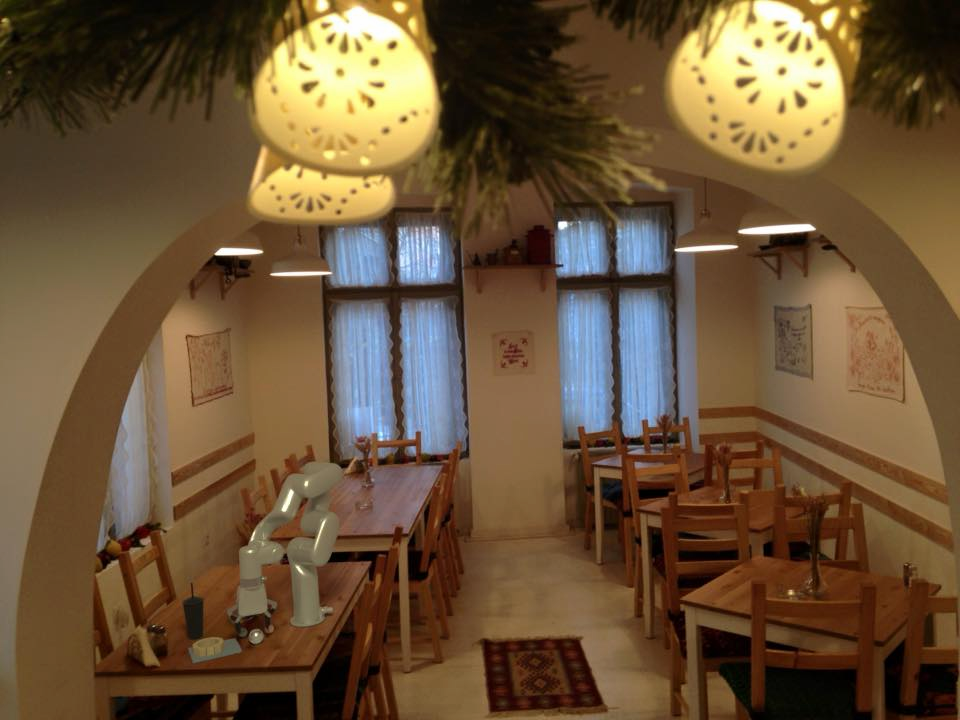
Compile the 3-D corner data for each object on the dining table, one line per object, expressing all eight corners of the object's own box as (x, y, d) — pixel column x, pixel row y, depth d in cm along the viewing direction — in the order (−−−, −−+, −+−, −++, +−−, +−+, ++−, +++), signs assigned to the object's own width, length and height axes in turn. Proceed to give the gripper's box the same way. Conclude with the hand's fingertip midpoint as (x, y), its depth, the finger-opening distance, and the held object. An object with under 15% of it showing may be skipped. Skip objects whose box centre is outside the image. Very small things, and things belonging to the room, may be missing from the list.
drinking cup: (188, 643, 295) (184, 588, 294) (182, 637, 302) (177, 583, 300) (209, 637, 300) (205, 582, 299) (203, 631, 306) (198, 578, 305)
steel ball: (262, 639, 295) (261, 625, 294) (265, 644, 290) (264, 630, 290) (248, 642, 293) (246, 628, 292) (250, 647, 288) (249, 633, 288)
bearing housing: (235, 640, 295) (234, 631, 295) (241, 652, 284) (240, 642, 284) (188, 650, 288) (187, 641, 288) (192, 663, 277) (192, 653, 277)
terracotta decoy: (273, 630, 302) (272, 622, 302) (275, 633, 300) (274, 625, 299) (264, 632, 301) (263, 624, 301) (266, 635, 298) (265, 626, 298)
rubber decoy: (246, 634, 300) (246, 625, 300) (248, 637, 297) (247, 628, 297) (237, 636, 299) (237, 627, 299) (239, 639, 296) (238, 630, 296)
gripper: (273, 575, 297) (275, 622, 297) (223, 583, 289) (225, 631, 290) (278, 580, 290) (280, 629, 291) (227, 588, 283) (229, 638, 283)
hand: (253, 630), depth 290 cm, fingers open, 9 cm apart
